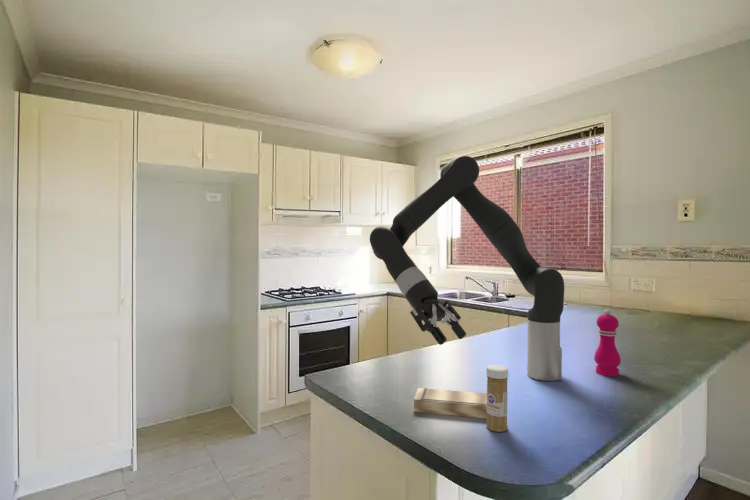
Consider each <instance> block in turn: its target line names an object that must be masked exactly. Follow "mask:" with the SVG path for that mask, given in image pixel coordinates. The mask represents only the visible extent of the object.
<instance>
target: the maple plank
mask: <svg viewBox="0 0 750 500" xmlns="http://www.w3.org/2000/svg"><path fill="white" fill-rule="evenodd" d="M413 412H415V413H424V414H425V413H426V414H435V415H446V416H456V417H464V418H465V417H467V418H468V417H469V418H477V419H478V418H479V419H485V420H487V392H486V393H485V392H474V391H460V390H451V389H449V390H447V389H437V388H427V387H424V388H423V387H418V388H417V390H416V392H415V396H414V398H413Z"/></svg>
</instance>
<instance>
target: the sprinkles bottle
mask: <svg viewBox="0 0 750 500" xmlns="http://www.w3.org/2000/svg"><path fill="white" fill-rule="evenodd" d="M485 375H486V378H487V379H486V381H487V382H486V383H487V384H486V387H487V388H486V393H487V419H486V424H485V425H486V428H487V429H488V430H490V431H493V432H496V433H497V432H498V433H503V432H505V431H507V430H508V429H509V428H508V378H509V368H508V367H506V366H505V365H502V364H489V365H488V366H486V374H485Z"/></svg>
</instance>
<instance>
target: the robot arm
mask: <svg viewBox="0 0 750 500" xmlns="http://www.w3.org/2000/svg"><path fill="white" fill-rule="evenodd" d="M439 174H440V175H439V176H440V178H438V180H437V181H435V183H433V185H431V186H430V187H429V188H428V189H426V190H425V191H424V192H422V193H421V194H419V195H418V196H417V197H416V198H415V199H413V200H412V201H411V202H410V203H408V204H407V205H406V206H405V207H404V208H403V209H401V211H399V212H398V213H397V214H396V215H395V216H394V217H393V219H392V224H391V227H388V226H383V225H382V226H381V225H380V226H377V227H375V228H374V229H373V230H372V231H370V232H371V233H370V234H369V243H370V244H369V245H370V246H371V249H372V252H373V254H374V256H375V257H376V258H377V259H379V260H382V261H383V262H384V265H385V268H386V269H387V271H388V274H389V275H390V276H391V278H392V279H393V280H394V282H395V283H396V285H397V287H398V289H399V291H400V292H401V293H402V295H403V296H404V298H405V299H406V301H407V303H408V304H409V305H410V306H411V308H412V310H411V311H410V315H411V316H412V317H413V319H414V321H415V322H416V324H417V325H418V327H419V329H420V331H422V332H424V333H425V332H426V331H427V333H429V334H431V336H432V337H433V338H434V340H435V341H436V343H438V344H439V345H440V346H441V345H444V344H445V343H446V342H447V337H446V336H445V334H444V333H443V331H442V330H441V328H440V327H439V326H438V324H437V323H438V322H440V323H442V324H446V325H447V326H449V327H450V328H451V330H452V331H453V332H454V334H455V336H456V337H457V338H458V339H459V340H462V339H463V338H464V337H466V336H467V333H466V331H465V330H464V328H463V326H461V324H460V323H459V321H460V320H461V319H462V317H461V315H460V314H459V313H458V312H457V310H456V309H455V308H454V307H453V306H452V304H451V303H450V302H449V301H448V300H445V301H444V302H443V303H442V302H441V301H439V299H438V297H439V292H438V290H437V289H436V288H435V287H434V285H433V284H432V283H431V282H430V280H429V279H428V278H427V276H426V275H425V274H424V272H423V271H421V269H420V268H419V267H418V266H417V264H416V263H415V262H414V261H413V260H412V258H411V257H410V256H409V255H408V253H407V252H406V250H405V248H404V246H405V244H406V243H407V242H408V240H409V238H410V237H411V236H412V235H413V234H414V233H415V232H416V231H417V230H418V229H420V227H422V226H423V225H424V224H425V223H426V222H427V221H428V220H429V219H430V218H431V217H433V216H434V214H435V213H436V212H438V211H439V209H440V208H442V206H444V205H445V204H446V203H447V202H449V200H451V199H452V198H454V199H455V200H456V201H457V202H458V203H459V204H460V205H461V206H462V208H464V209H465V211H466V212H467V213H468V215H469V216H470V217H471V219H472V220H473V221H474V222H475V224H476V225H477V226H478V227H479V229H480V230H481V231H482V233H483V234H484V235H485V237H486V238H487V239H488V241H489V242H490V243H491V244H492V246H493V247H494V248H495V249H496V251H498V253H499V254H500V255H501V257H502V258H503V259H504V260H505V261H506V263H508V265H509V266H510V267H511V269H512V270H513V272H514V274H515V275H516V277H517V278H518V280H519V281H520V283H521V285H522V286H523V288H524V289H525V291H526V292H527V293H528V294H529V295H531V296H533V299H534V300H533V306H532V308H530V309H528V310H527V353H526V354H527V355H526V357H527V361H526V362H527V363H526V365H527V367H526V370H527V373H526V375H527V376H528V377H530V378H532V379H535V380H538V381H539V380H540V381H546V382H554V381H562V380H563V378H562V377H563V365H562V364H563V349H562V347H561V316H562V314H563V312H564V302H565V281H564V277H563V275H562V273H560V272H559V271H558V270H557V269H555V268H549V267H543V266H541V264H539V263H538V262H537V260H535V258H534V257H533V256H532V255H531V252H530V251H529V250H528V248H527V245H526V242H525V238H524V235H523V232H522V231H521V229H520V227H519V225H518V224H517V223H516V222H515V220H514V219H513V218H512V216H511V215H510V214H509V213H508V212H507V211H506V210H505V209H504V208H503V207H501V206H500V205H498V204H497V203H495V202H494V201H492V200H490V198H488V197H486V196H485V195H484V194H483V193H482V192H481V191H480V189H478V188H477V186H476V185H475V182H476V181H477V180H478V177H479V176H480V166H479V164H478V162H477V160H475V158H473V157H472V156H469V155H460V156H457V157H455V158H452V160H450V161H449V162H448V163H446V164H445V165H443V167H442V168H441V170H440V173H439ZM422 321H423V322H422ZM423 323H424V324H423Z"/></svg>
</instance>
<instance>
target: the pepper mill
mask: <svg viewBox="0 0 750 500" xmlns="http://www.w3.org/2000/svg"><path fill="white" fill-rule="evenodd" d="M611 313H612V312H611V310H610V309H605V310H604V314H601V315H599V316H598V317H597V318H596V325H597V327H598V328H599V329H598V335H599V338H600V339H599V345H598V347H597V349H596V350H595V352H594V356H593V360H594V362H595V363H596V366H595V372H596V373H597V374H598V375H601V376H606V377H618V376H619V375H620V368H618V367H619V366H620V365H621V363H622V361H621V360H622V359H621V355H620V353H619V352H618V349H617V346H616V340H615V338H616V336H617V335H618V334H617V329H618V327H620V326H619V325H620V324H619V320H618V318H617V317H616V316H615V315H612V314H611Z"/></svg>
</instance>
